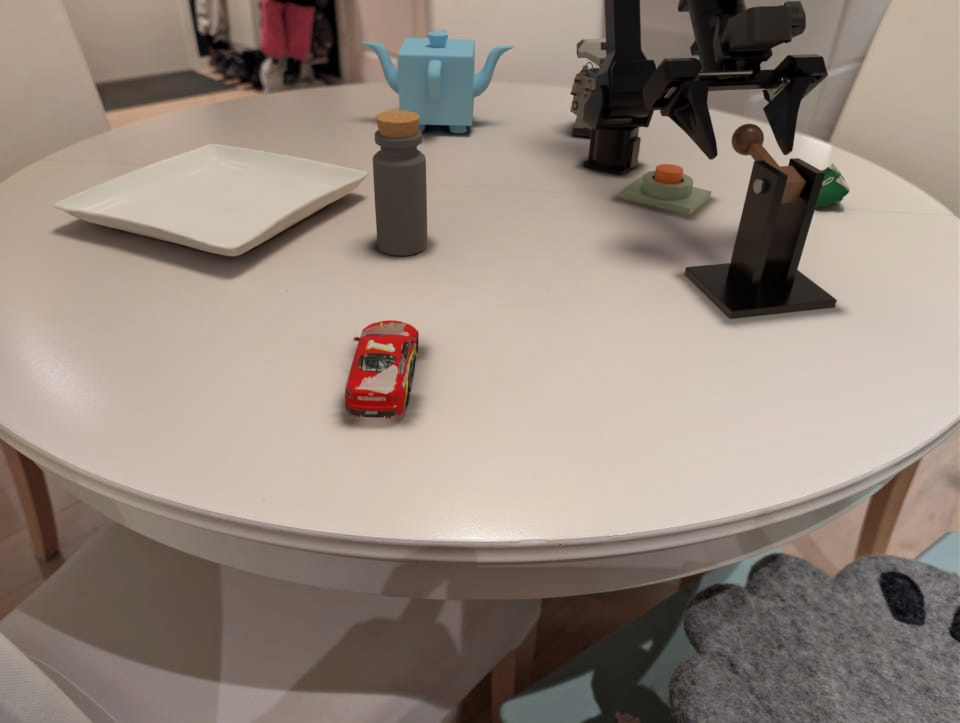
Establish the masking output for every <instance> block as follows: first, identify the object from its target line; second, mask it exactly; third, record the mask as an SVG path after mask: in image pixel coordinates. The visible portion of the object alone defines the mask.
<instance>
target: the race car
mask: <svg viewBox="0 0 960 723" xmlns="http://www.w3.org/2000/svg"><path fill="white" fill-rule="evenodd" d="M419 336H420V335H419V330H418V329H416V327H415V326H413V325H412V324H409V323H406V322H404V321H400V320H389V319H388V320H380V321H376V322H373V323H370V324H368V325H367V326H366V327H364V328H363V329H362V330H361V334H360V336H359V337H358V336H355V337H353V341H354V342H358V343H357V345H356V348H355V352H354V356H353V359H352V362H351V366H350V369H349V372H348V376H347V378H346V382H345V387H344V405H345V406H344V407H345V410H346V413H347V414H348V415H349V416H354V418H360V417H361V418H373V419H374V418H375V419H378V418H381V419H383V418H385V419H391V418H392V417H393V418H396V417H399V416H401V415H402V414H403V413H404V412H405V411H406V409H407V408H408V406H409V404H410V393H411V391H412V390H411V389H412V385H413V380H414V373H415V367H416V363H417V359H418V358H417V357H418V354H419V342H420V341H419Z"/></svg>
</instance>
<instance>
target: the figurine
mask: <svg viewBox="0 0 960 723" xmlns="http://www.w3.org/2000/svg"><path fill="white" fill-rule="evenodd" d="M576 56H577V59H587V60H588V62H586V63H585V65H582V67H581V68H582V69H581V70H580V71H579V72H578V73H576V74H575V76H574V80H573V84H572V86H571V91H570V95H571V96H572V100H571V101H572V102H571V106H570V110H569V111H570V112H571V113H572V114H574V115H575V116H576V117H575V120H574V121H575V122H574V126H573V129H572V133H571V134H573V135H574V136H575V137H578V136H580V138H583V137H584V136H587V138H589V139H590V138H591V129H592V128H591V127H590V126H589V125H588V124H586V123H585V122H584V105H585V104H586V102H587V100H588V99H589V97H590V95H591V94H592V92H593V91H594V89H595V85H596V75H597V73H598V71H599V69H600V67H601V65H602V63H603V61H604V59H605V58H606V37H605V38H582V39H581V40H580V41H578V42H577V43H576ZM589 64H590V65H591V68H589V66H588V65H589ZM594 64H595V65H596V66H597V67H594Z"/></svg>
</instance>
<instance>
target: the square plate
mask: <svg viewBox="0 0 960 723" xmlns="http://www.w3.org/2000/svg"><path fill="white" fill-rule="evenodd" d="M368 176H369V171H367V170H364V169H363V170H362V169H356V168H351V167H347V166H341V165H337V164H333V163H328V162H323V161H317V160H314V159H308V158H303V157H298V156H294V155H293V156H292V155H287V154H282V153H275V152H271V151H264V150H259V149H251V148H245V147H238V146H231V145H225V144H218V143H208V144H206V145H203V146H199V147H197V148H195V149H192V150H188V151H185V152H182V153H179V154H176V155H174V156H170V157H167V158H165V159H162V160H160V161H156V162H153V163H151V164H148V165H145V166H142V167H140V168H136V169H134V170H132V171H129V172H126V173H123V174H121V175H118V176H116V177H113V178H111V179H108V180H106V181H104V182H101V183H98V184H96V185H94V186H92V187H90V188H87V189H84V190H82V191H80V192H77V193H75V194H73V195H71V196H68V197H65V198H63V199H60V200H58V201H56V202H54V203H53V208H55V209H58V210H60V211H63V212H65V213H66V214H68V215H70V216H72V217H74V218H77V219H79V220H81V221H85V222H87V223H91V224H96V225H99V226H102V227H106V228H110V229H116V230H120V231H124V232H127V233H131V234H134V235H139V236H143V237H146V238H147V237H148V238H152V239H156V240H160V241H164V242H168V243H173V244H177V245H181V246H185V247H188V248H192V249H195V250H200V251H201V252H207V253H211V254H215V255H219V256H225V257H238V256H240V255H243V254H245V253H247V252H249V251H251V250H253V248H257V247H258V246H260V245H262V244H264V243H265V242H267V241H270V240H271V239H272V238H274V237H275V236H277V235H279V234H280V233H282V232H284V231H286V230H288V229H289V228H291V227H293V226H295V225H296V224H298V223H300V222H302V221H303V220H305V219H307V218H308V217H310V216H312V215H314V214H316V213H318V212H319V211H321V210H322V209H324V208H325V207H326V206H328V205H330V204H333V203H334V202H336V201H338V200H340V199H341V198H343V197H345V196H347V195H348V194H350V193H351V192H353V191H354V190H356V189H357V188H358V187H359V186H360V185H361V184H362V182H363V181H364V180H365V179H366V177H368Z"/></svg>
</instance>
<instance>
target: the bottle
mask: <svg viewBox="0 0 960 723" xmlns="http://www.w3.org/2000/svg"><path fill="white" fill-rule="evenodd" d="M419 120H420V116H419V115H418V114H417V113H415V112H411V111H404V110H399V109H394V110H384V111H381V112H379V113H377V114H376V115H375V121H376V125H377V130H376V131H374V143H375V144H376V145H377V146H379V147H380V149H379V150H378V151H377V152H375V153H374V155H373V156H372V175H373V192H374V210H375V211H374V212H375V227H376V228H375V229H376V241H377V247H378V249H379V250H380V251H381V252H382V253H384V254H387V255H391V256H400V257H401V256H402V257H403V256H405V257H406V256H413V255H416V254H419V253H422V252H423V251H425V250H426V248H427V247H428V198H427V196H428V194H427V190H428V188H427V158H426V155H425V154H424V153H423V152H422V151H421V150H419V149H418V146H420V145H422V143H423V133H422V132H421V131H419V130H418V126H419Z"/></svg>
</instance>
